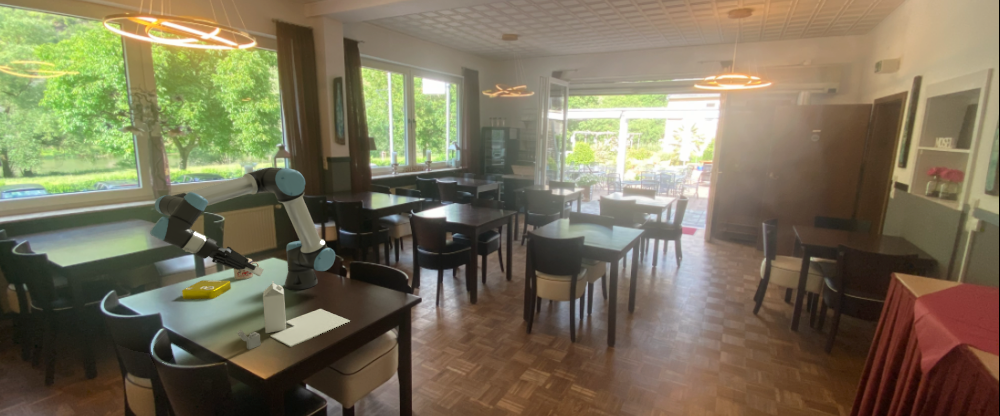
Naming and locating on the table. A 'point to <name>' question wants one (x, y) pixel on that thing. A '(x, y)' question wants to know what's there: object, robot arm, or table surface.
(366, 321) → the table surface
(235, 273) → the teacup with lid
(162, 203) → the robot arm
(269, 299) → the milk carton
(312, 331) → the mat
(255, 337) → the lighter
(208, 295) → the element tile
